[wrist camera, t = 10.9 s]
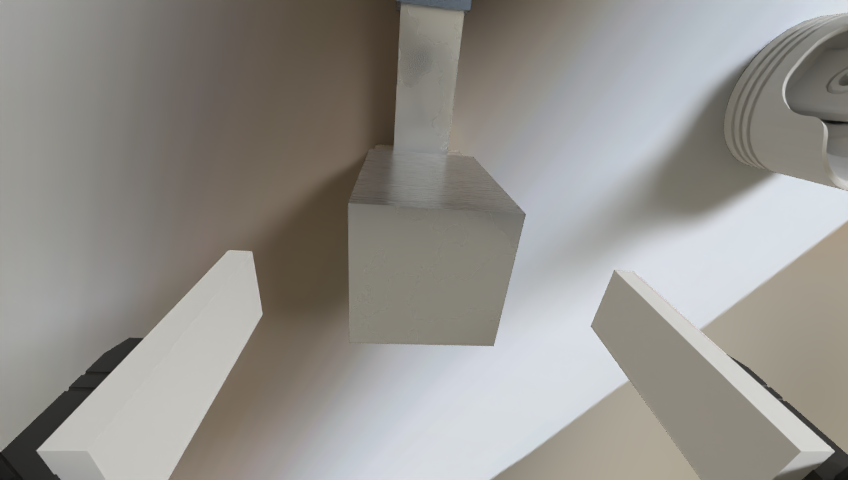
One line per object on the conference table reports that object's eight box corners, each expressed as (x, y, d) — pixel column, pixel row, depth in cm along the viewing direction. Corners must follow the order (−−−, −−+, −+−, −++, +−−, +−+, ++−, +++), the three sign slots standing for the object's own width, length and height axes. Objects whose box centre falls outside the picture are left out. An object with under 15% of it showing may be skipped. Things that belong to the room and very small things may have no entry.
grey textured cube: (369, 148, 21) (347, 203, 12) (473, 156, 21) (525, 214, 12) (367, 243, 23) (349, 342, 15) (459, 247, 24) (493, 345, 15)
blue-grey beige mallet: (386, -248, 16) (377, -495, 9) (510, -224, 16) (590, -437, 9) (374, 222, 26) (365, 273, 19) (449, 226, 27) (466, 277, 20)
